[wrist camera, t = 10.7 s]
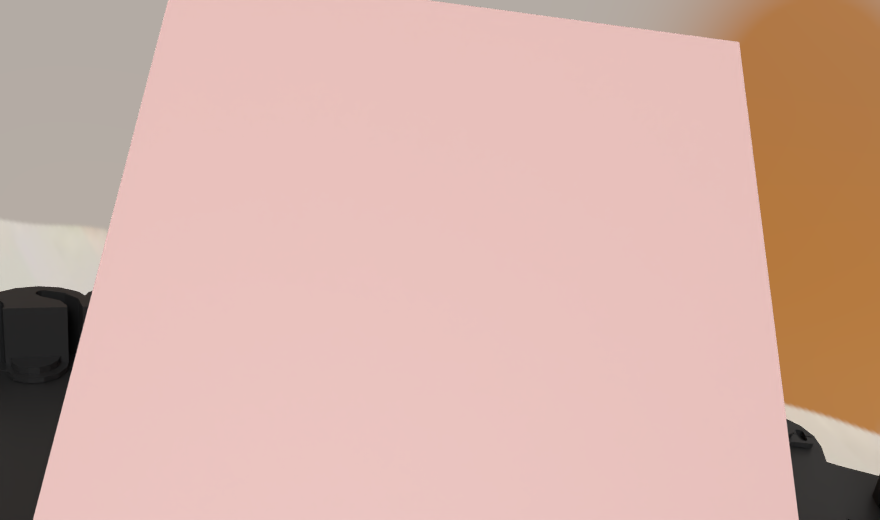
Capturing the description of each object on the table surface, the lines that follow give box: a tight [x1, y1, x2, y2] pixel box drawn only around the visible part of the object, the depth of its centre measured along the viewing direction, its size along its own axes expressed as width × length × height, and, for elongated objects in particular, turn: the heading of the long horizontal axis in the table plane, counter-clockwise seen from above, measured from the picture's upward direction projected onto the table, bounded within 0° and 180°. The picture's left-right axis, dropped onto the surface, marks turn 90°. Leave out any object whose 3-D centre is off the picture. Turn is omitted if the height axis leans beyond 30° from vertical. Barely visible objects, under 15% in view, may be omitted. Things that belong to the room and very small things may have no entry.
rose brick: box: [33, 0, 799, 520], centre depth 13 cm, size 6×6×12 cm
